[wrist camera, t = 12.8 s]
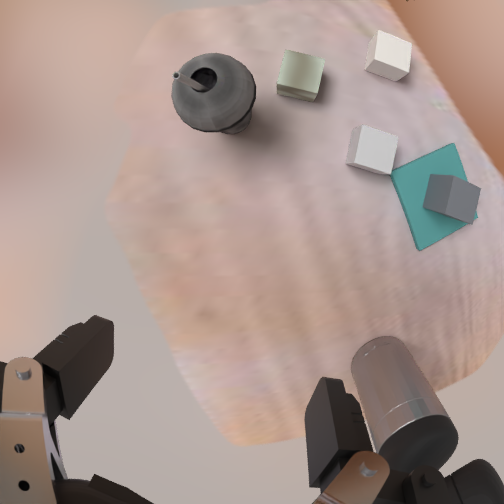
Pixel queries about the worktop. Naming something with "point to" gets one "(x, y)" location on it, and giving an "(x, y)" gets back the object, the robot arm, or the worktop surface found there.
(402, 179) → the teal mat
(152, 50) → the worktop surface
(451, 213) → the charcoal block
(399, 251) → the worktop surface
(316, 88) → the sage block
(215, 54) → the beverage cup
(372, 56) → the offwhite block
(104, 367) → the robot arm
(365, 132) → the grey block
